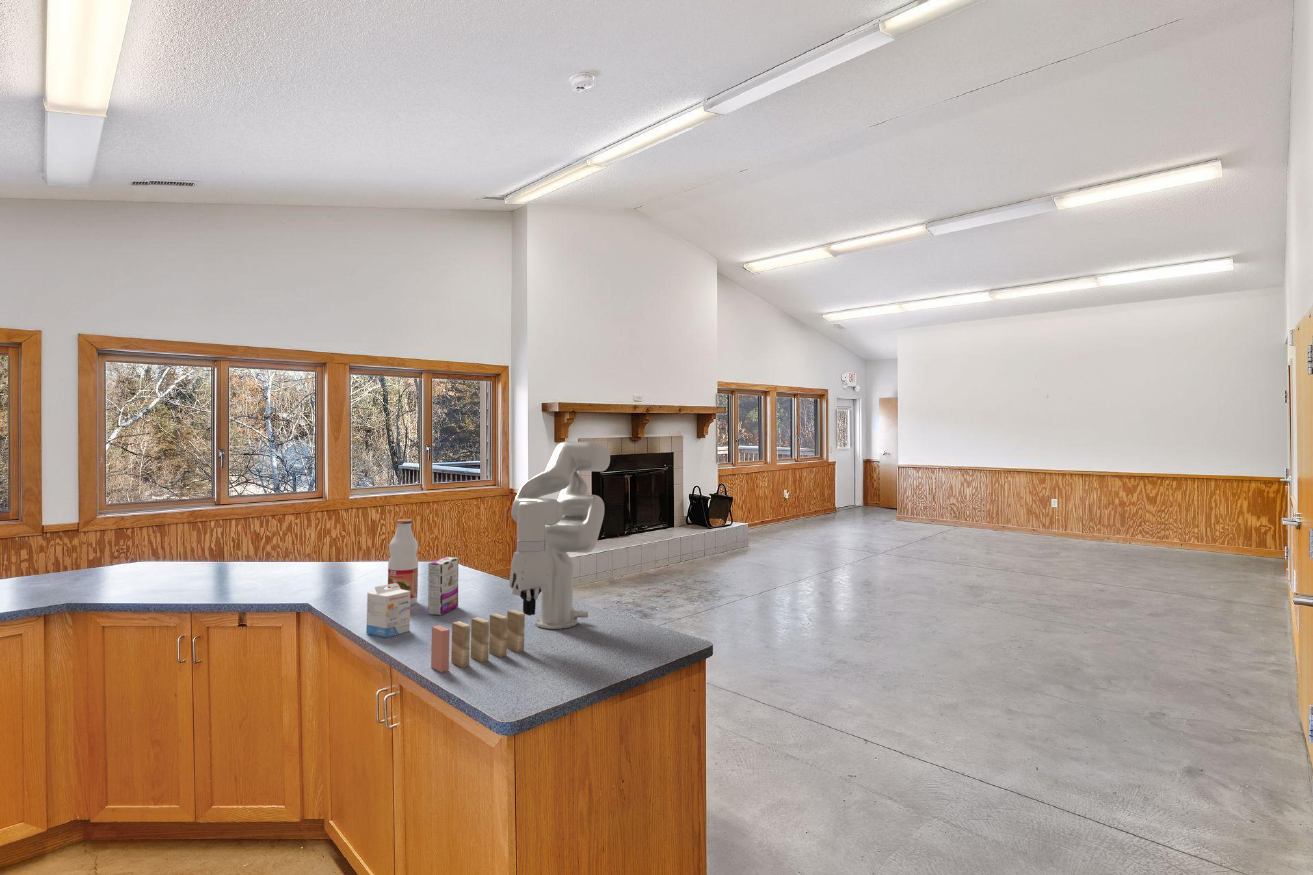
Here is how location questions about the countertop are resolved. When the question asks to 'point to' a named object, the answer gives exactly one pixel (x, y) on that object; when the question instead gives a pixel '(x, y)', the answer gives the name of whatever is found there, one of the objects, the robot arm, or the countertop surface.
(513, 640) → the domino
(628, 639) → the countertop surface
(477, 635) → the domino
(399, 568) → the fruit juice
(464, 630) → the domino
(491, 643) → the domino
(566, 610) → the robot arm
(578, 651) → the countertop surface
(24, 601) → the countertop surface
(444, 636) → the domino
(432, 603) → the candy bar box
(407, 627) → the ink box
